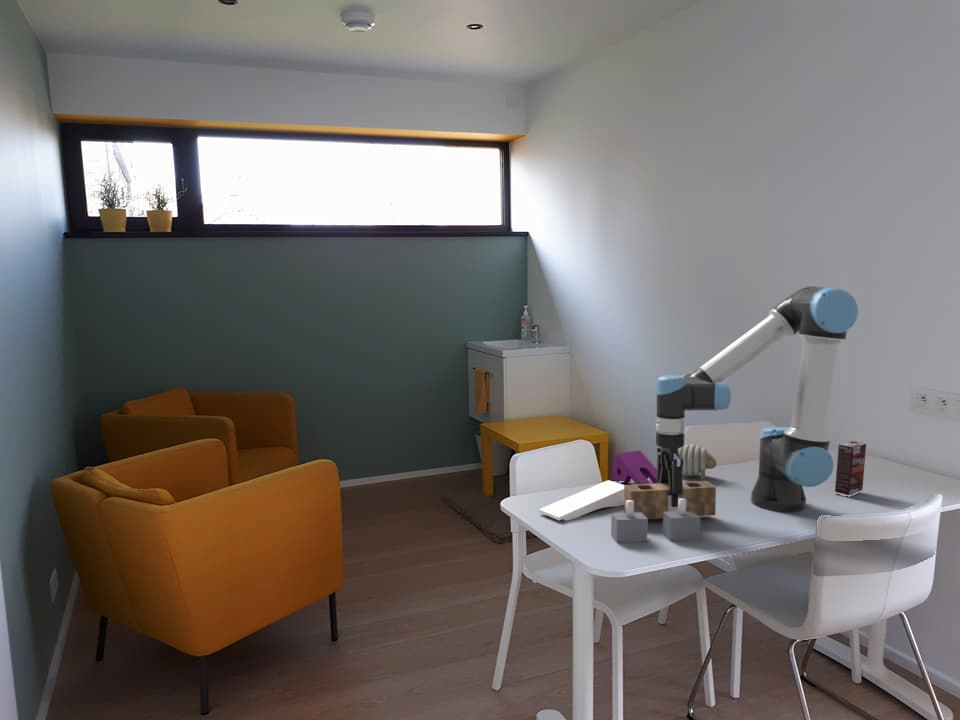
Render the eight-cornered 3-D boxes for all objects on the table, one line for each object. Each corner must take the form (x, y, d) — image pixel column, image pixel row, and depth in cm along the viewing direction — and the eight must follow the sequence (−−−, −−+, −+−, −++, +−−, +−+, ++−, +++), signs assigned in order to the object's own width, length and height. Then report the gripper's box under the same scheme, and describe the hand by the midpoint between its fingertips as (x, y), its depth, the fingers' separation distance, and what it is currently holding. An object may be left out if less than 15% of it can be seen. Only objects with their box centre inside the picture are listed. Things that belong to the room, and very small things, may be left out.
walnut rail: (706, 508, 205) (706, 480, 204) (715, 515, 199) (715, 487, 198) (624, 512, 202) (624, 485, 201) (630, 519, 197) (631, 491, 196)
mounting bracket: (662, 506, 230) (632, 469, 244) (671, 486, 226) (640, 450, 240) (638, 510, 226) (609, 472, 240) (646, 490, 222) (616, 453, 236)
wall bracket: (560, 542, 199) (629, 510, 215) (562, 520, 197) (632, 489, 212) (536, 523, 207) (605, 493, 222) (538, 502, 204) (608, 473, 220)
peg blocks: (691, 532, 191) (693, 496, 190) (699, 539, 186) (701, 502, 185) (611, 535, 189) (612, 498, 187) (616, 542, 184) (617, 504, 182)
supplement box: (849, 498, 220) (853, 447, 218) (834, 494, 224) (837, 444, 222) (863, 493, 225) (867, 443, 223) (848, 489, 229) (851, 440, 227)
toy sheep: (715, 483, 235) (716, 450, 233) (662, 478, 240) (663, 445, 239) (716, 474, 245) (717, 442, 243) (665, 470, 250) (666, 438, 249)
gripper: (645, 424, 207) (644, 502, 210) (669, 440, 188) (667, 525, 191) (670, 424, 208) (669, 501, 210) (697, 439, 189) (695, 524, 192)
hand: (668, 512), depth 201 cm, fingers closed on walnut rail, 6 cm apart
